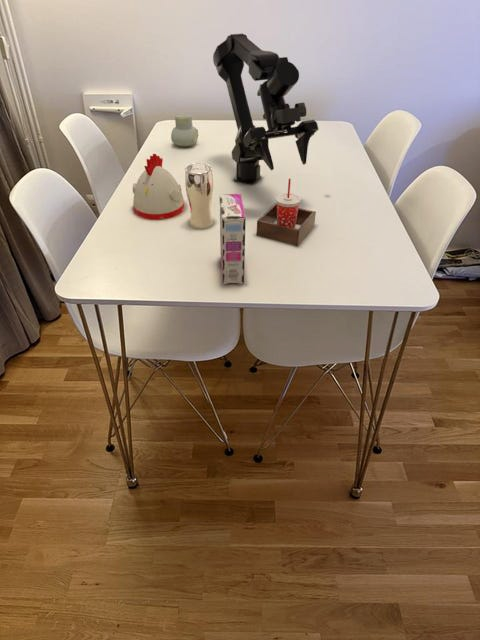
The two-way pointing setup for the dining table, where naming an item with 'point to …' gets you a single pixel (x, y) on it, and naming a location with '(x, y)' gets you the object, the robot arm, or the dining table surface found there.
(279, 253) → the dining table surface
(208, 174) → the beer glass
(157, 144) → the dining table surface
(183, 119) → the air freshener
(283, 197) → the beverage cup
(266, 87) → the robot arm
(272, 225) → the crate
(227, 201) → the candy bar box
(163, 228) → the dining table surface
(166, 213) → the kitchen timer
